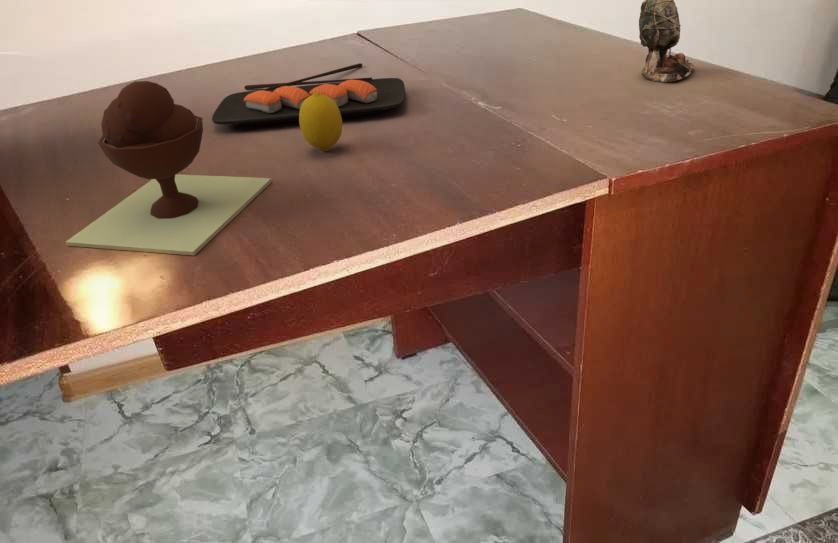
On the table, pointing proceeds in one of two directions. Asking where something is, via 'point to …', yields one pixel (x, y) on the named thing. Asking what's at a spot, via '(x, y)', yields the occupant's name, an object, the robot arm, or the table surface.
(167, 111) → the ice cream bowl
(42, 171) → the table surface
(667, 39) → the plant with pod
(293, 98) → the sushi plate
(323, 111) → the lemon
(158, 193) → the placemat
